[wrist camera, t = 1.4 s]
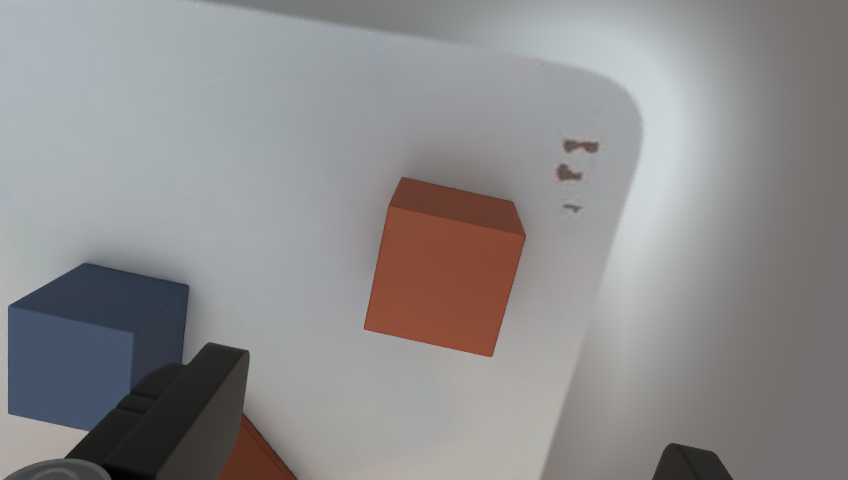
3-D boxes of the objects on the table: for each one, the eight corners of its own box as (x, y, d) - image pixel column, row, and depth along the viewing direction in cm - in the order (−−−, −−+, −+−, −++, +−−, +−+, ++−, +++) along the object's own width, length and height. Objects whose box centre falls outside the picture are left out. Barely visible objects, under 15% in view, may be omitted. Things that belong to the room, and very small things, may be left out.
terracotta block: (379, 282, 24) (362, 330, 20) (401, 176, 23) (388, 204, 19) (486, 305, 24) (492, 358, 20) (514, 201, 23) (526, 235, 19)
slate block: (80, 356, 26) (7, 414, 22) (83, 262, 25) (7, 305, 20) (179, 377, 26) (126, 440, 22) (189, 285, 25) (134, 333, 21)
